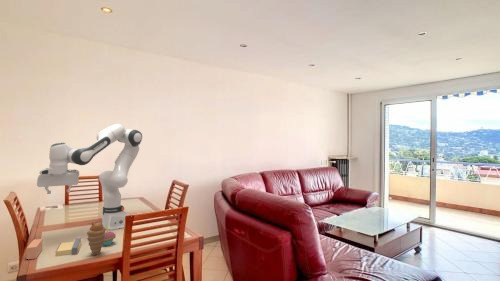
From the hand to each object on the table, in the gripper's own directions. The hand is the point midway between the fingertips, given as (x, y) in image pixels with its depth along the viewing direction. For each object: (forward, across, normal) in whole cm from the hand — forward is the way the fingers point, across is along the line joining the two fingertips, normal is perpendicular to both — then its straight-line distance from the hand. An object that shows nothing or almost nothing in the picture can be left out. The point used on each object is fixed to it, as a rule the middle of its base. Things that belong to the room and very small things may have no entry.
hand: (58, 193), depth 158 cm
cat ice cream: (+30, -21, +28) cm, 46 cm away
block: (+29, +8, +16) cm, 34 cm away
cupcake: (+30, -26, +15) cm, 43 cm away
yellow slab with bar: (+29, -7, +16) cm, 34 cm away
